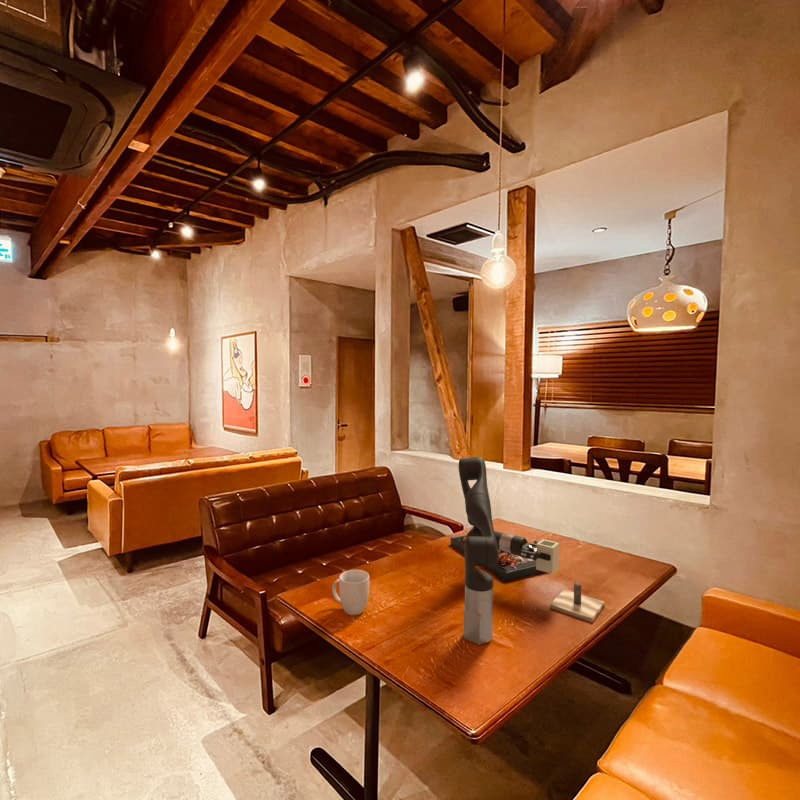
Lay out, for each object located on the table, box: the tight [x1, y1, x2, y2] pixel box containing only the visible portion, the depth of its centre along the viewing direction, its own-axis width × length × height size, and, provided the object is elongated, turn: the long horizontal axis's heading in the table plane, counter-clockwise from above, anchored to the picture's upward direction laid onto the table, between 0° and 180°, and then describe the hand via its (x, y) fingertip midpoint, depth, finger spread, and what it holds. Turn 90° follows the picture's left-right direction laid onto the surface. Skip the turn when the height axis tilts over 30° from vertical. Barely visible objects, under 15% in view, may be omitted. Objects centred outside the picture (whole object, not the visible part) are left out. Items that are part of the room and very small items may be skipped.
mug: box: [331, 569, 370, 616], centre depth 160 cm, size 15×11×13 cm
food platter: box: [450, 534, 546, 583], centre depth 208 cm, size 45×25×10 cm, turn 24°
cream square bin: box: [536, 538, 560, 575], centre depth 168 cm, size 6×6×10 cm
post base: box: [549, 582, 605, 623], centre depth 162 cm, size 15×15×8 cm
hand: (553, 555), depth 166 cm, fingers closed on cream square bin, 6 cm apart
